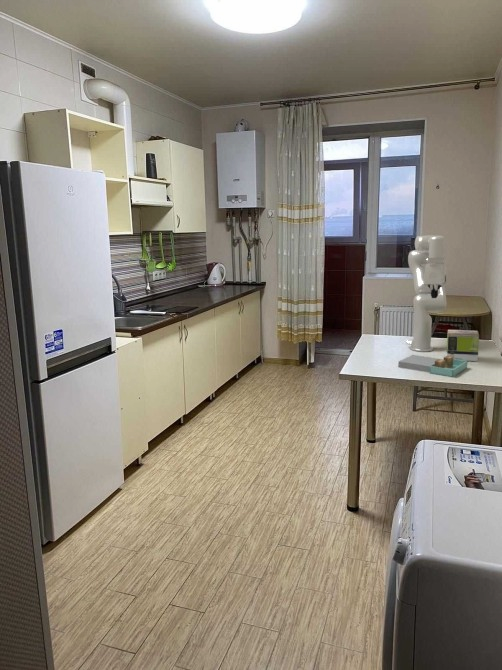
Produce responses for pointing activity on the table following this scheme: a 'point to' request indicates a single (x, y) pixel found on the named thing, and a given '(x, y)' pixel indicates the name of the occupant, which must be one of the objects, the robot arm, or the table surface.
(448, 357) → the brown angular block
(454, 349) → the tea box
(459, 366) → the tray
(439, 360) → the wooden block
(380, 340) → the table surface
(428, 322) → the robot arm
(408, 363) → the board
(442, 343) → the table surface
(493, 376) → the table surface
